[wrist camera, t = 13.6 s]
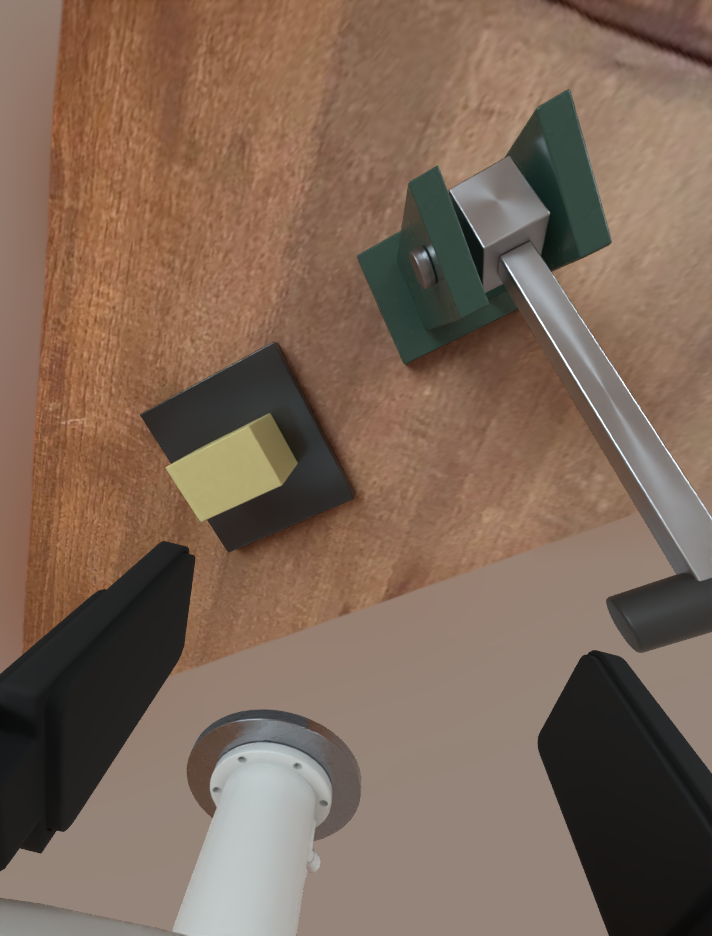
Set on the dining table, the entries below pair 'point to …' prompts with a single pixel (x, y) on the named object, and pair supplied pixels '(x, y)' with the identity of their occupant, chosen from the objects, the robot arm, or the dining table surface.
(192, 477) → the butter
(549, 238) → the green lever stand
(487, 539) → the dining table surface
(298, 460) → the board
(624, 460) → the t-handle lever
